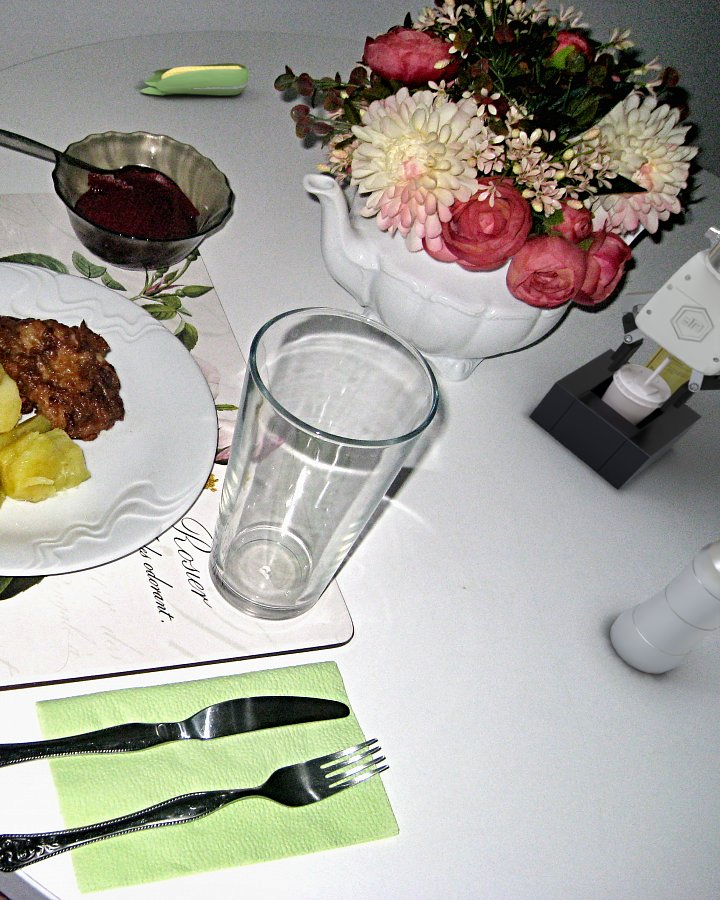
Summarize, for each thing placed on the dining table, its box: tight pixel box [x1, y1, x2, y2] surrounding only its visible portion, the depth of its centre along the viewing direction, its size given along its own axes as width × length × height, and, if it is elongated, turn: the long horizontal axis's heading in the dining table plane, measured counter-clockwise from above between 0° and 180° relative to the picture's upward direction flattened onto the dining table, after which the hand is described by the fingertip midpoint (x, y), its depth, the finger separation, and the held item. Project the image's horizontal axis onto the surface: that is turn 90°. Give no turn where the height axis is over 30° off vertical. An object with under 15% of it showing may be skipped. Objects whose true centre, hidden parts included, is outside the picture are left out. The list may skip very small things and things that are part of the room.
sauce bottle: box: [643, 345, 693, 394], centre depth 110 cm, size 6×6×20 cm
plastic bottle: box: [610, 539, 720, 675], centre depth 83 cm, size 6×7×20 cm
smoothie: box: [601, 356, 672, 425], centre depth 105 cm, size 6×6×14 cm
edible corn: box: [139, 62, 252, 97], centre depth 148 cm, size 5×20×5 cm, turn 112°
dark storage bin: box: [528, 348, 703, 491], centre depth 108 cm, size 13×13×7 cm
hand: (641, 386), depth 104 cm, fingers closed on smoothie, 6 cm apart
